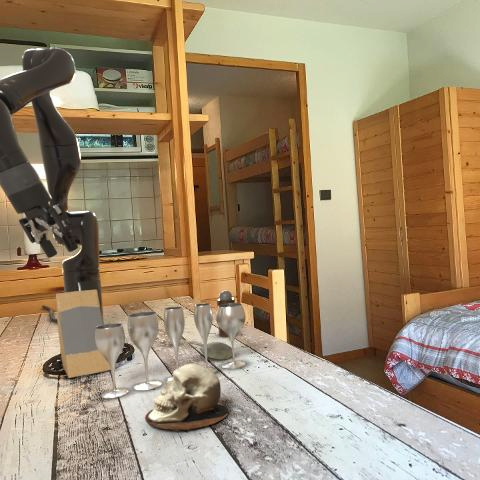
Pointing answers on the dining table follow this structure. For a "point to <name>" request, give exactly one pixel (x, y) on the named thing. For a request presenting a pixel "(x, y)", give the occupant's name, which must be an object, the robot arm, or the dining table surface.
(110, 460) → the dining table surface
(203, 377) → the skull
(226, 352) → the soupspoon
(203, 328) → the goblet set
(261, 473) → the dining table surface
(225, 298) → the pepper mill
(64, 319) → the sandwich container
